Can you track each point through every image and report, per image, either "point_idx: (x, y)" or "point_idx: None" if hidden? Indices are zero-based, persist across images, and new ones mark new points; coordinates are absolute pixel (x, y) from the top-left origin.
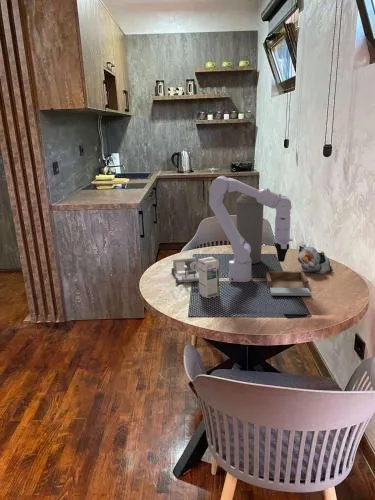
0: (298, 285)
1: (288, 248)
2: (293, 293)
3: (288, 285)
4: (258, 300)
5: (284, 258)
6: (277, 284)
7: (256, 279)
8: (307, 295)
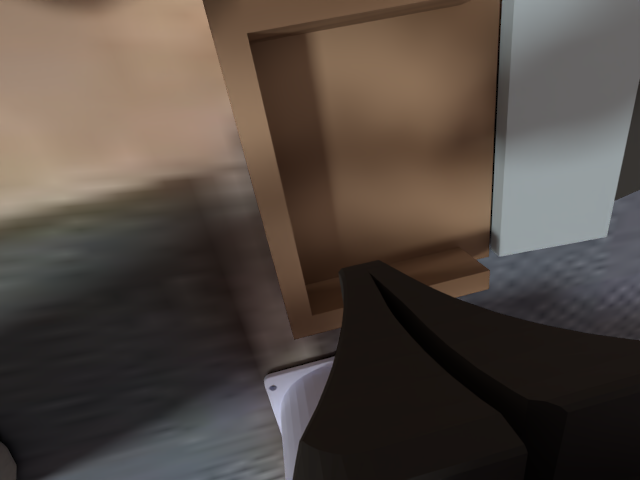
0: (402, 62)
1: (636, 343)
2: (630, 99)
3: (407, 143)
4: (568, 277)
5: (403, 275)
6: (396, 219)
7: (286, 344)
8: None
